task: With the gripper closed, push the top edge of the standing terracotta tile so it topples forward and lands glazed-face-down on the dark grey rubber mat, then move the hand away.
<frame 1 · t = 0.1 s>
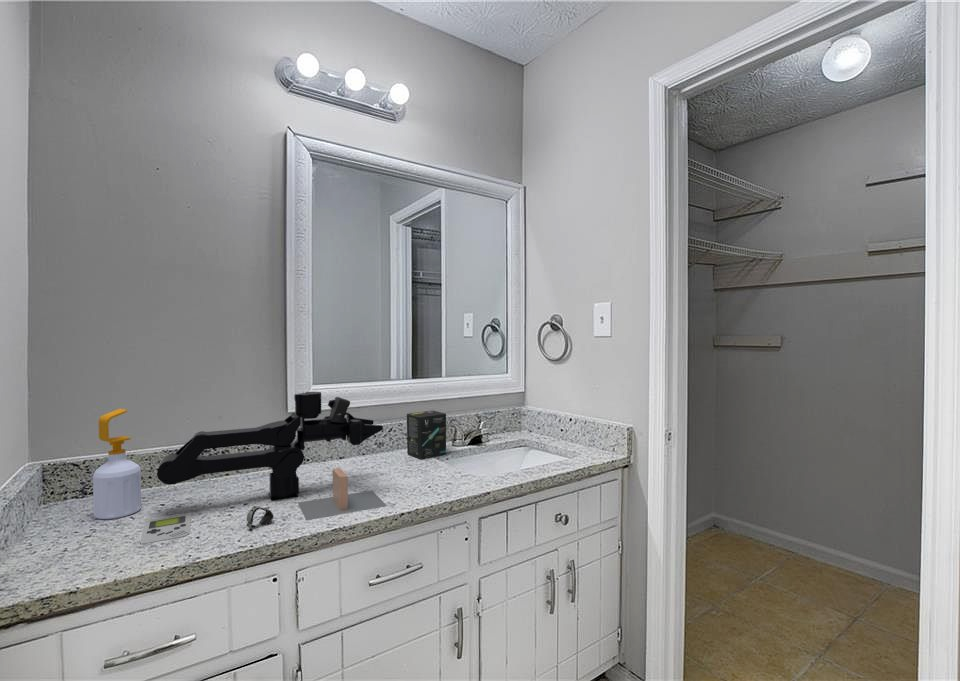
hand: (377, 424, 139), 17 cm above the worktop, tool horizontal, fingers open, 9 cm apart
tile: (339, 504, 121), resting on mat
tampon box: (426, 455, 171), on the worktop
mat: (342, 505, 121), on the worktop
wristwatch: (259, 527, 108), on the worktop
handheld gaming device: (167, 530, 108), on the worktop
soap bottle: (118, 513, 116), on the worktop
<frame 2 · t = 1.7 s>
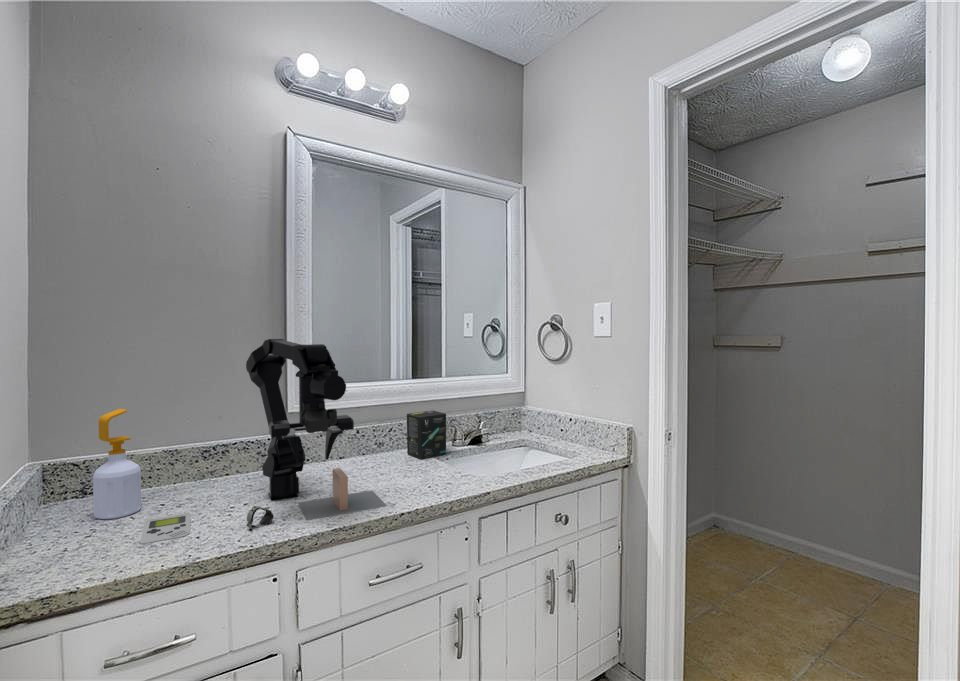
hand: (312, 461, 117), 12 cm above the worktop, tool pointing down, fingers open, 6 cm apart
nothing on the worktop moved.
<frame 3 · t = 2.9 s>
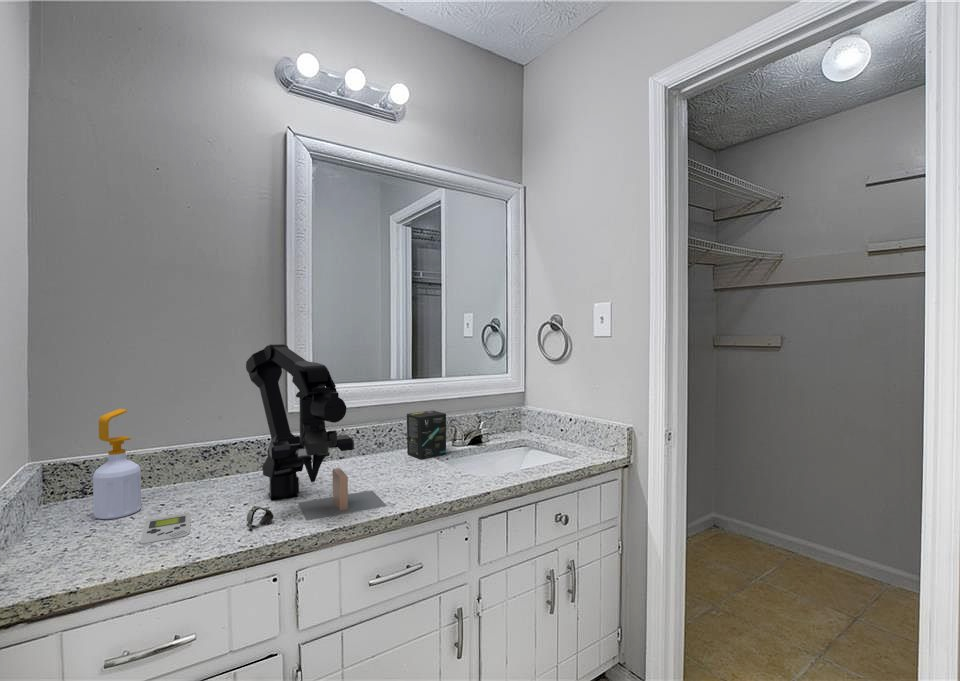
hand: (312, 481, 117), 7 cm above the worktop, tool pointing down, fingers closed
nothing on the worktop moved.
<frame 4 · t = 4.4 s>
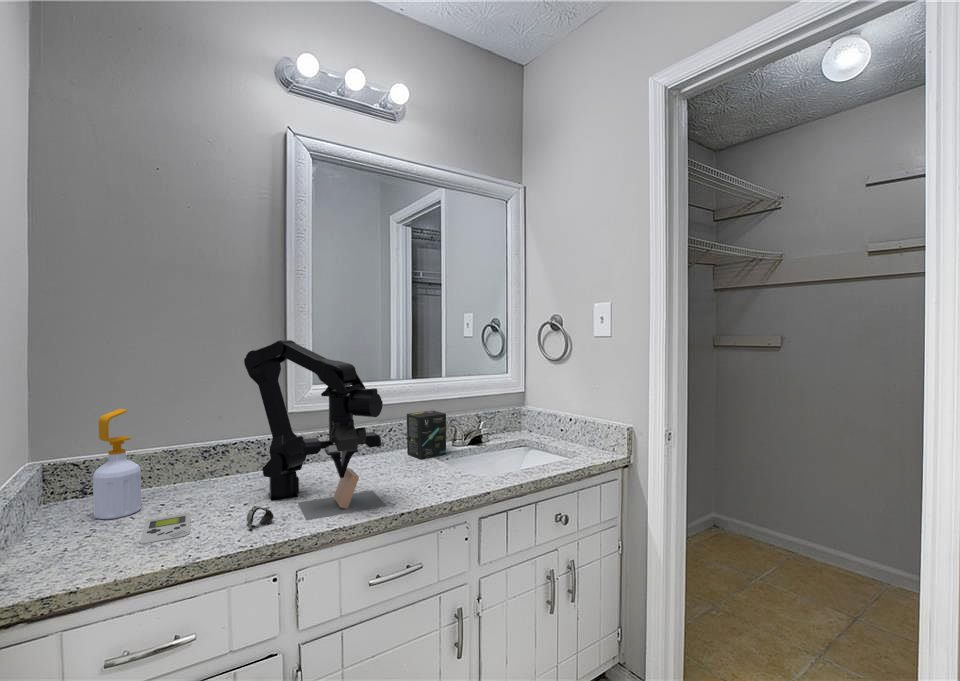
hand: (341, 477, 121), 7 cm above the worktop, tool pointing down, fingers closed
tile: (340, 503, 121), point 1 cm above the worktop, tilted 21°, touching mat
everything else where it was.
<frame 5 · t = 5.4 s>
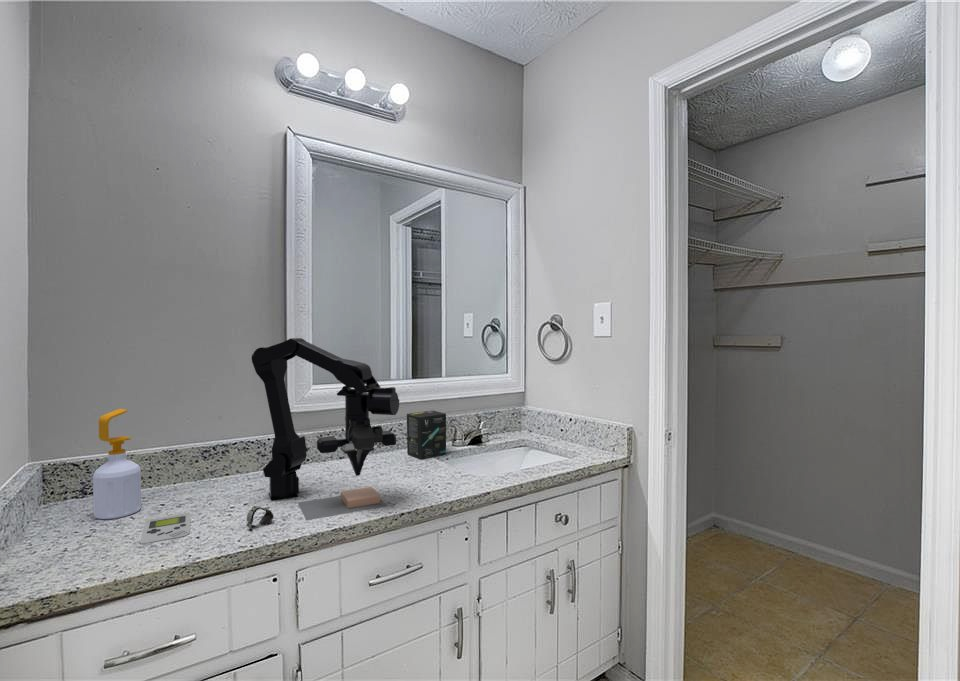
hand: (357, 475, 123), 7 cm above the worktop, tool pointing down, fingers closed
tile: (344, 499, 121), point 1 cm above the worktop, tilted 90°, touching mat
everything else where it was.
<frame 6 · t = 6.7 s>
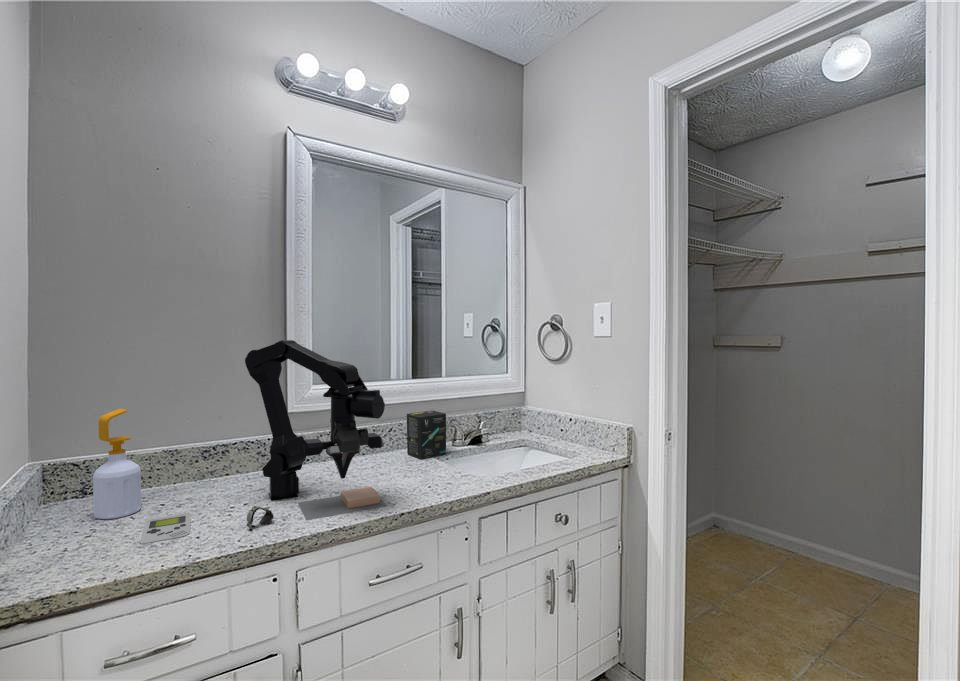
hand: (342, 478, 121), 7 cm above the worktop, tool pointing down, fingers closed
nothing on the worktop moved.
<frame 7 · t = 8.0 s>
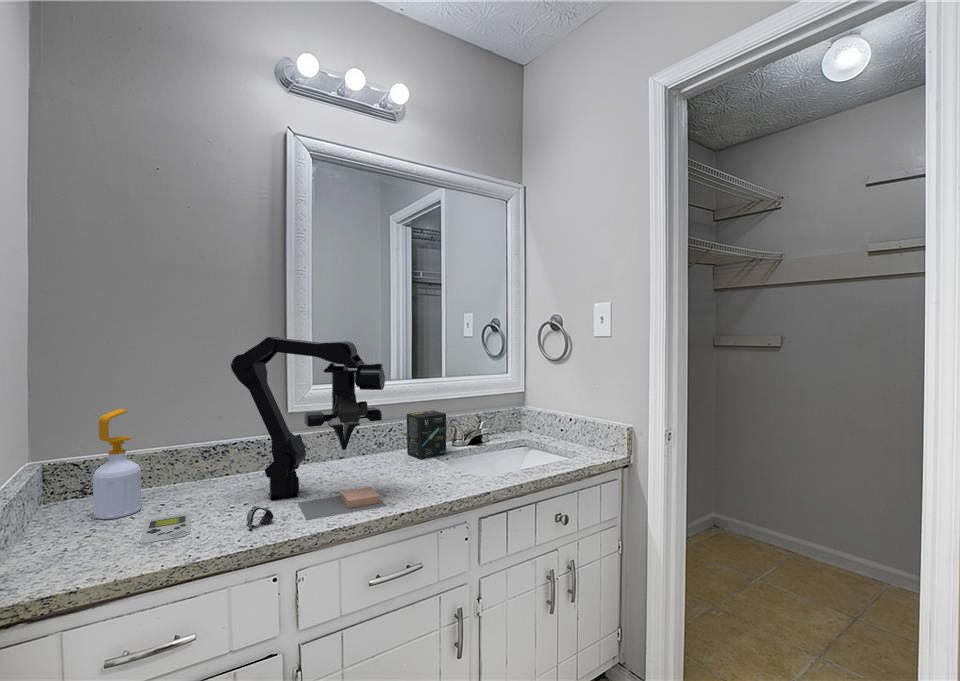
hand: (343, 449, 127), 12 cm above the worktop, tool pointing down, fingers closed
nothing on the worktop moved.
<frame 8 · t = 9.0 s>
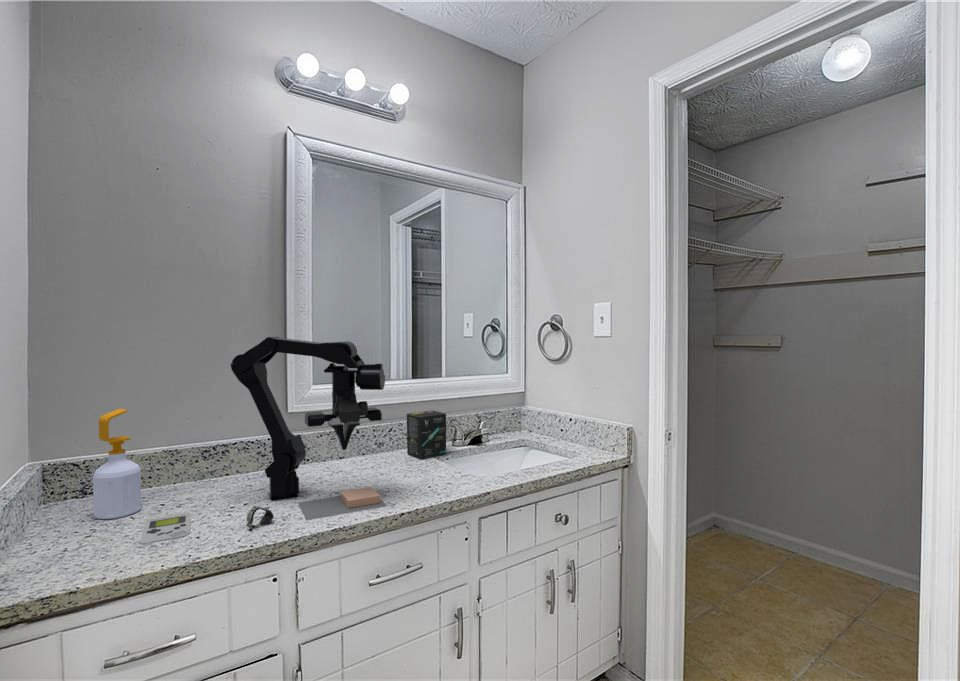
hand: (344, 449, 127), 12 cm above the worktop, tool pointing down, fingers closed
nothing on the worktop moved.
at the end: tile tilted 90°; tile inside the target area on the mat (0.0 cm from its centre), point 1.4 cm above the mat's base; tile touching mat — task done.
